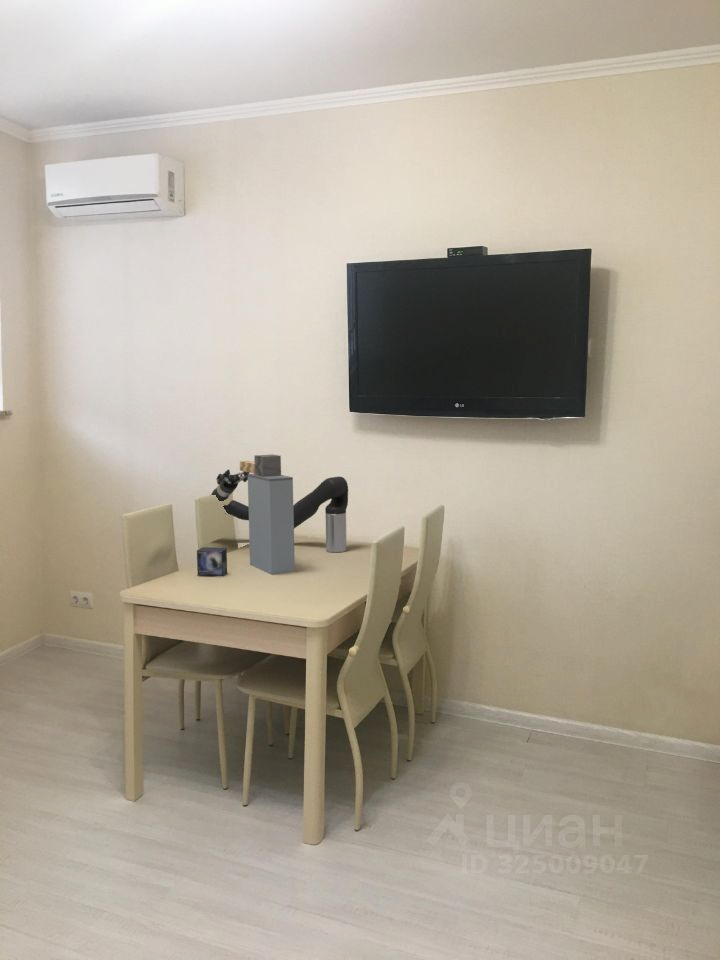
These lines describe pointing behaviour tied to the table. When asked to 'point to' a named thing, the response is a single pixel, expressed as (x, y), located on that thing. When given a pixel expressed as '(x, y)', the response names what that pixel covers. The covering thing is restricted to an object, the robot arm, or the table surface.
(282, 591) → the table surface
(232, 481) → the robot arm
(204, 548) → the small box
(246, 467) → the peg
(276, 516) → the stand
